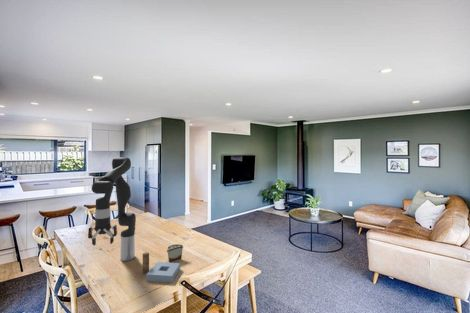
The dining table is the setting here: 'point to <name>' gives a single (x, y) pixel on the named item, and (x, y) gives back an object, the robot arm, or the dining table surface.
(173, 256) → the food container
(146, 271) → the walnut peg
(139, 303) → the dining table surface
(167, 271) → the socket block
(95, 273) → the dining table surface
